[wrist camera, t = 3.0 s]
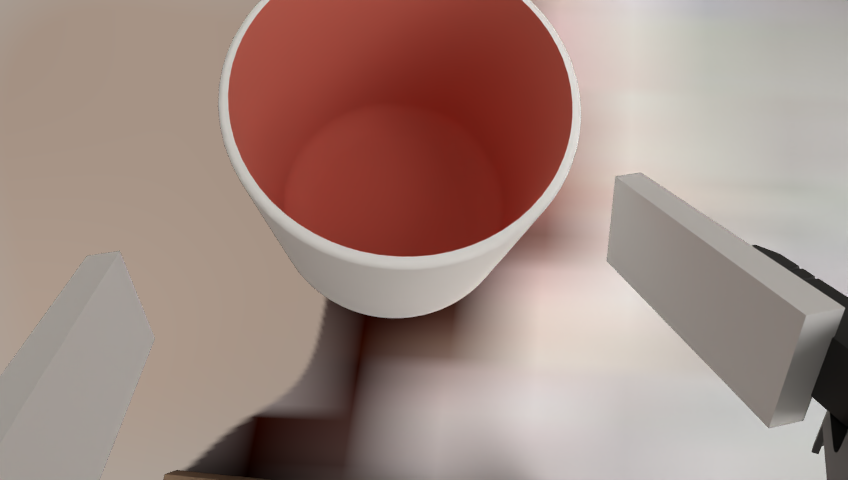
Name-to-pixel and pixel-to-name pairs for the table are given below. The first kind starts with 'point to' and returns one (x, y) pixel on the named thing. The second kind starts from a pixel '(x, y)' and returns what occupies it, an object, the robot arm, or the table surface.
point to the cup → (398, 139)
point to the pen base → (202, 476)
